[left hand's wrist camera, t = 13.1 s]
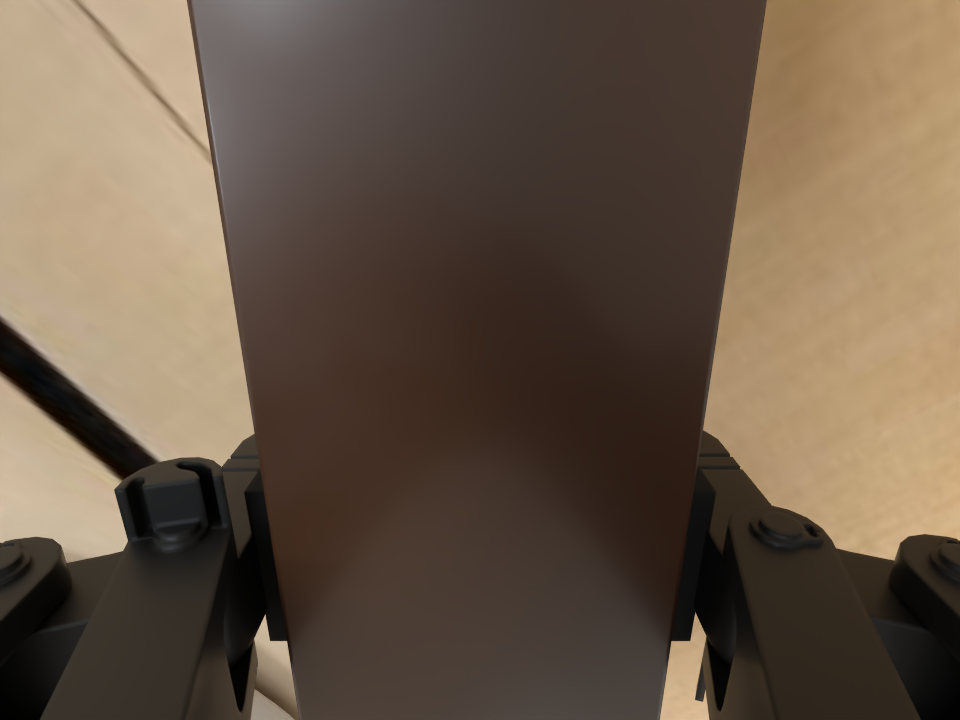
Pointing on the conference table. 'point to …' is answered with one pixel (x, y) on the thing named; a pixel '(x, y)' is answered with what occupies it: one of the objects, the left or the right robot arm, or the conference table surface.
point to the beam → (478, 331)
